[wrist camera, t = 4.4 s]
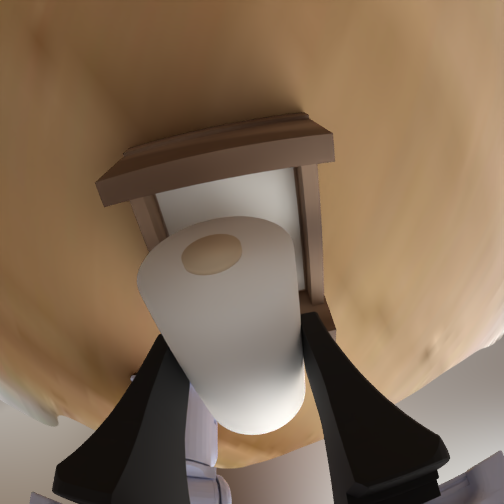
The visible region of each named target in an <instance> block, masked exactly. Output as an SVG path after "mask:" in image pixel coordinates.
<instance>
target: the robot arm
mask: <svg viewBox="0 0 504 504" xmlns="http://www.w3.org/2000/svg"><path fill="white" fill-rule="evenodd" d="M300 317H301V331H302V344H303V358H304V363H305V369H306V373H307V376H308V379H309V383H310V386H311V389H312V392H313V396H314V399H315V402H316V406H317V409H318V412H319V416H320V420H321V424H322V428H323V434H324V440H325V445H326V451H327V457H328V463H329V470H330V476H331V483H332V491H333V498H334V504H504V456H503V453H502V451H498V452H496V453H495V454H493V455H492V456H490V457H489V458H487V459H485V460H484V461H482V462H480V463H479V464H477V465H475V466H474V467H472V468H470V469H469V470H467V471H466V472H465V473H463V474H461V475H459V476H457V477H455V478H453V479H451V480H449V481H447V482H445V483H443V484H441V485H439V486H438V483H437V479H438V478H439V475H438V472H437V469H439V468H440V467H442V466H443V465H445V464H446V463H447V462H448V461H449V459H450V456H449V453H448V450H447V448H446V446H445V444H444V442H443V441H442V439H441V438H440V436H439V435H437V434H435V433H434V432H432V431H430V430H429V429H427V428H425V427H424V426H422V425H421V424H419V423H418V422H416V421H415V420H413V419H412V418H411V417H409V416H408V415H407V414H405V413H404V412H403V411H402V410H400V409H399V408H398V407H397V406H395V405H394V404H393V403H392V402H390V401H389V400H388V399H387V398H386V397H385V396H383V395H382V394H381V393H380V392H379V391H378V390H377V389H376V388H375V387H374V386H373V385H372V384H371V383H370V382H369V381H368V380H367V379H366V378H365V377H364V376H363V375H362V374H361V373H360V372H359V371H358V369H357V368H356V367H355V366H354V365H353V364H352V362H351V361H350V360H349V359H348V358H347V356H346V355H345V354H344V352H343V351H342V350H341V349H340V347H339V346H338V345H337V343H336V342H335V341H334V339H333V338H332V336H331V335H330V333H329V332H328V330H327V329H326V327H325V326H324V324H323V322H322V321H321V319H320V317H319V315H318V313H317V312H315V311H314V312H309V313H304V314H300ZM131 381H132V383H131V384H130V386H129V387H128V389H127V390H126V392H125V394H124V395H123V397H122V398H121V400H120V401H119V402H118V404H117V405H116V407H115V408H114V409H113V411H112V412H111V413H110V415H109V416H108V417H107V418H106V420H105V421H104V422H103V423H102V424H101V425H100V427H99V428H98V429H97V430H96V431H95V432H94V433H93V434H92V435H91V436H90V438H88V440H86V441H85V442H84V444H82V445H81V446H80V447H79V448H78V449H77V450H76V451H75V452H73V453H72V454H71V455H70V456H68V457H67V458H66V459H65V460H64V461H62V462H61V463H59V464H58V465H57V467H56V471H55V477H54V482H53V488H52V491H53V493H54V494H56V495H58V496H61V497H63V498H66V499H68V500H70V501H73V502H75V503H78V504H232V502H231V492H230V488H229V485H228V483H227V482H226V481H225V480H224V478H223V477H222V476H220V475H216V467H214V465H215V463H216V461H217V456H218V444H217V421H216V419H215V418H214V417H213V416H212V414H211V413H210V411H209V410H208V408H207V407H206V405H205V404H204V402H203V401H202V399H201V398H200V396H199V395H198V393H197V392H196V390H195V389H194V387H193V386H192V384H191V382H190V381H189V379H188V378H187V376H186V374H185V373H184V371H183V370H182V368H181V366H180V365H179V363H178V361H177V360H176V358H175V356H174V355H173V353H172V351H171V350H170V348H169V346H168V344H167V343H166V341H165V339H164V337H163V336H162V334H159V335H158V337H157V339H156V340H155V342H154V344H153V346H152V348H151V349H150V351H149V353H148V355H147V357H146V358H145V360H144V362H143V364H142V366H141V367H140V369H139V371H138V372H137V374H136V375H132V376H131ZM30 504H61V503H59V502H57V501H54V500H52V499H49V498H47V497H44V496H42V495H39V494H37V493H35V492H32V493H31V498H30Z"/></svg>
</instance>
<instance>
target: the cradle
mask: <svg viewBox="0 0 504 504" xmlns="http://www.w3.org/2000/svg"><path fill="white" fill-rule="evenodd" d="M123 155H124V157H123V158H122V159H121V160H120V161H118V162H117V163H116V164H115V165H114V166H113V167H112V168H111V169H109V170H108V171H107V172H106V173H105V174H104V175H103V176H102V177H101V178H100V179H99V180H97V181H96V182H95V184H96V187H97V189H98V192H99V195H100V197H101V200H102V203H103V205H104V207H107V206H110V205H114V204H118V203H121V202H125V201H130V203H131V206H132V209H133V212H134V214H135V217H136V220H137V222H138V225H139V228H140V230H141V233H142V235H143V238H144V241H145V243H146V246H147V248H148V251H149V253H150V251H152V250H153V249H154V248H155V247H156V246H157V245H158V244H159V243H160V242H162V241H163V240H165V239H166V238H167V237H169V236H171V235H172V234H174V233H176V232H178V231H180V230H182V229H184V228H186V227H189V226H191V225H194V224H197V223H200V222H203V221H207V220H211V219H215V218H222V217H231V216H248V217H256V218H261V219H265V220H268V221H271V222H273V223H275V224H277V225H279V226H280V227H282V228H283V229H284V230H285V231H286V232H287V233H288V234H289V235H290V237H291V239H292V241H293V245H294V252H295V262H296V272H297V282H298V293H299V305H300V314H304V313H309V312H314V311H315V312H317V313H318V315H319V317H320V319H321V321H322V322H323V324H324V326H325V327H326V329H327V330H328V332H329V333H330V335H331V336H332V338H333V339H334V341H335V342H336V327H335V325H334V322H333V319H332V316H331V313H330V310H329V307H328V305H327V302H326V299H325V296H324V274H323V245H322V224H321V207H320V193H319V180H318V168H317V164H320V163H328V162H335V154H334V141H333V133H331V132H330V131H328V130H327V129H325V128H324V127H322V126H320V125H319V124H317V123H316V122H314V121H312V120H311V119H309V115H308V114H306V113H296V114H288V115H280V116H273V117H266V118H260V119H253V120H247V121H242V122H236V123H231V124H226V125H221V126H216V127H211V128H206V129H202V130H197V131H193V132H188V133H184V134H180V135H176V136H172V137H168V138H164V139H161V140H157V141H153V142H150V143H146V144H143V145H139V146H136V147H133V148H129V149H128V150H126V151H125V152H124V153H123Z"/></svg>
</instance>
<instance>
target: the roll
mask: <svg viewBox="0 0 504 504" xmlns="http://www.w3.org/2000/svg"><path fill="white" fill-rule="evenodd" d="M137 286H138V289H139V292H140V294H141V296H142V298H143V300H144V302H145V304H146V306H147V308H148V310H149V312H150V314H151V316H152V317H153V319H154V321H155V323H156V325H157V327H158V328H159V330H160V332H161V334H162V336H163V337H164V339H165V341H166V343H167V344H168V346H169V348H170V350H171V351H172V353H173V355H174V356H175V358H176V360H177V361H178V363H179V365H180V366H181V368H182V370H183V371H184V373H185V374H186V376H187V378H188V379H189V381H190V382H191V384H192V386H193V387H194V389H195V390H196V392H197V393H198V395H199V396H200V398H201V399H202V401H203V402H204V404H205V405H206V407H207V408H208V410H209V411H210V413H211V414H212V416H213V417H214V418H215V419H216V421H217V422H219V423H220V424H221V425H222V426H224V427H225V428H227V429H229V430H231V431H233V432H236V433H240V434H246V435H258V434H264V433H268V432H271V431H274V430H276V429H278V428H280V427H282V426H284V425H285V424H287V423H288V422H289V421H290V420H291V419H292V418H293V417H294V416H295V415H296V414H297V412H298V411H299V409H300V408H301V406H302V403H303V401H304V397H305V374H304V358H303V344H302V331H301V317H300V305H299V293H298V282H297V272H296V262H295V252H294V245H293V241H292V239H291V237H290V235H289V234H288V233H287V232H286V231H285V230H284V229H283V228H282V227H280V226H279V225H277V224H275V223H273V222H271V221H268V220H265V219H261V218H256V217H248V216H231V217H222V218H215V219H211V220H207V221H203V222H200V223H197V224H194V225H191V226H189V227H186V228H184V229H182V230H180V231H178V232H176V233H174V234H172V235H171V236H169V237H167V238H166V239H165V240H163V241H162V242H160V243H159V244H158V245H157V246H156V247H155V248H154V249H153V250H152V251H150V253H149V254H148V255H147V256H146V258H145V259H144V261H143V262H142V264H141V266H140V268H139V271H138V275H137Z"/></svg>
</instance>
